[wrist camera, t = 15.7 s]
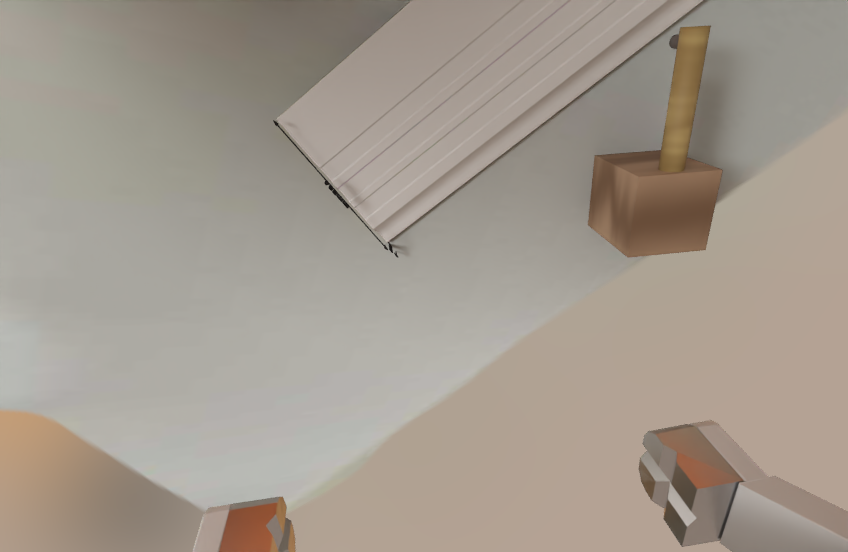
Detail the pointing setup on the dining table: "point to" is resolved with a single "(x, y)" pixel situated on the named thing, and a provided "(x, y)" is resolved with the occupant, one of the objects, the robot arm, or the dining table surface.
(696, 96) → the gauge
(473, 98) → the baseboard molding
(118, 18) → the dining table surface
